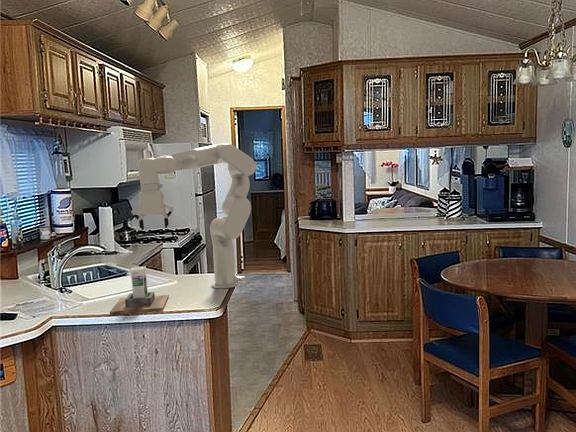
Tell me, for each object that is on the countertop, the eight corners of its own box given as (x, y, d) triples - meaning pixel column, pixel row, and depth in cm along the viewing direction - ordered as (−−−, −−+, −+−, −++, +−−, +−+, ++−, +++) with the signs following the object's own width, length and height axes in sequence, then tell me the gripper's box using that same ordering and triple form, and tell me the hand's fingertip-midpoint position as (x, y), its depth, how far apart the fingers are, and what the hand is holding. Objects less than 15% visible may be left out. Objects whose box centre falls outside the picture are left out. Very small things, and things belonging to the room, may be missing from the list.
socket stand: (168, 297, 223) (168, 288, 223) (162, 310, 203) (162, 300, 203) (120, 301, 221) (119, 291, 220) (110, 314, 201) (109, 304, 201)
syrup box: (133, 305, 208) (130, 269, 207) (134, 301, 214) (131, 266, 213) (148, 303, 210) (145, 268, 208) (148, 300, 216) (145, 265, 214)
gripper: (172, 185, 222) (176, 225, 224) (130, 189, 220) (134, 229, 222) (170, 186, 215) (174, 227, 217) (127, 190, 213) (132, 231, 215)
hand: (154, 228), depth 220 cm, fingers open, 9 cm apart
